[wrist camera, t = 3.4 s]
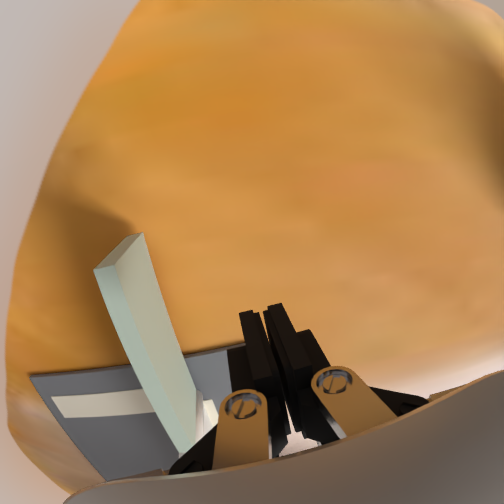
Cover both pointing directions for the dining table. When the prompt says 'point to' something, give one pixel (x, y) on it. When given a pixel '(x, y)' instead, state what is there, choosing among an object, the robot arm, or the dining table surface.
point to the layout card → (126, 412)
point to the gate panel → (151, 339)
